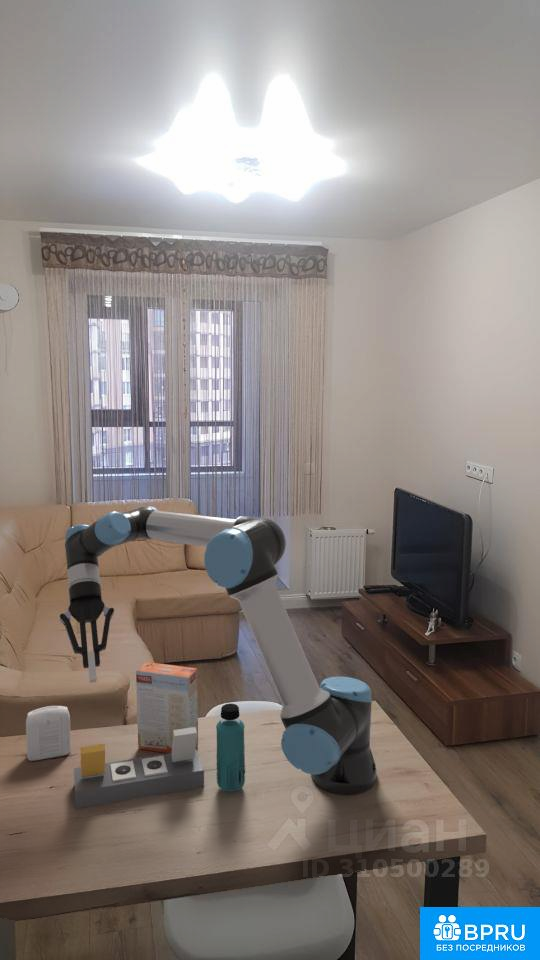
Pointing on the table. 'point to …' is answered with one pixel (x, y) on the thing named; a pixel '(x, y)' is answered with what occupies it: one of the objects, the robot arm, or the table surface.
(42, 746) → the photo printer
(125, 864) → the table surface
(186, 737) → the block
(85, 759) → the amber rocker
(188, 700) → the cracker box
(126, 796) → the power strip
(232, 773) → the beverage bottle
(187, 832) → the table surface
